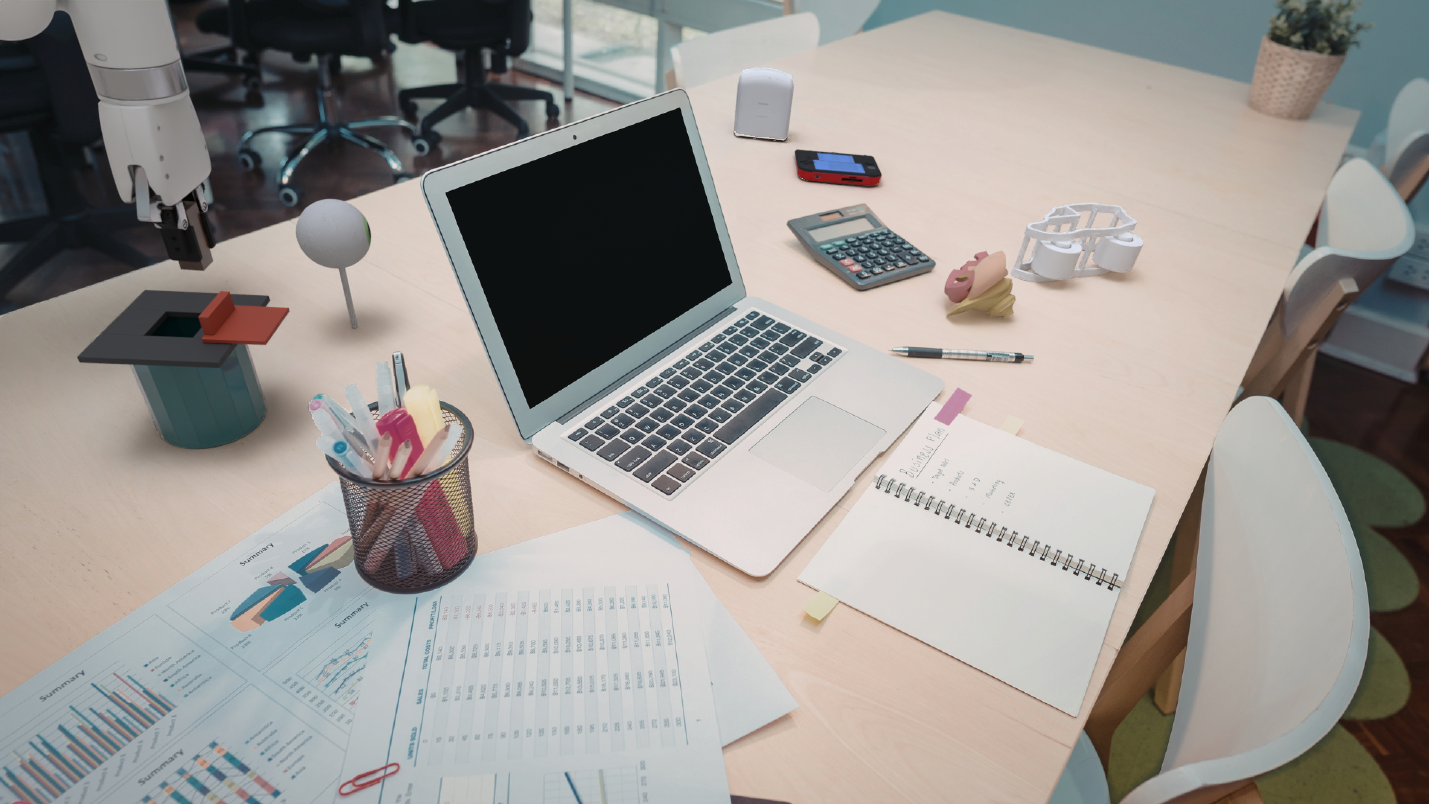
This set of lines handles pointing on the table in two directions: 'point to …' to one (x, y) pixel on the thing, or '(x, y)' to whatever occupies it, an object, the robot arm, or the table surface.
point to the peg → (196, 222)
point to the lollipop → (334, 239)
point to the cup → (202, 395)
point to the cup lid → (141, 319)
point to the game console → (837, 168)
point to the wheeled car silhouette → (1078, 245)
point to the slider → (239, 322)
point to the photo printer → (764, 103)
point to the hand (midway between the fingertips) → (193, 252)
